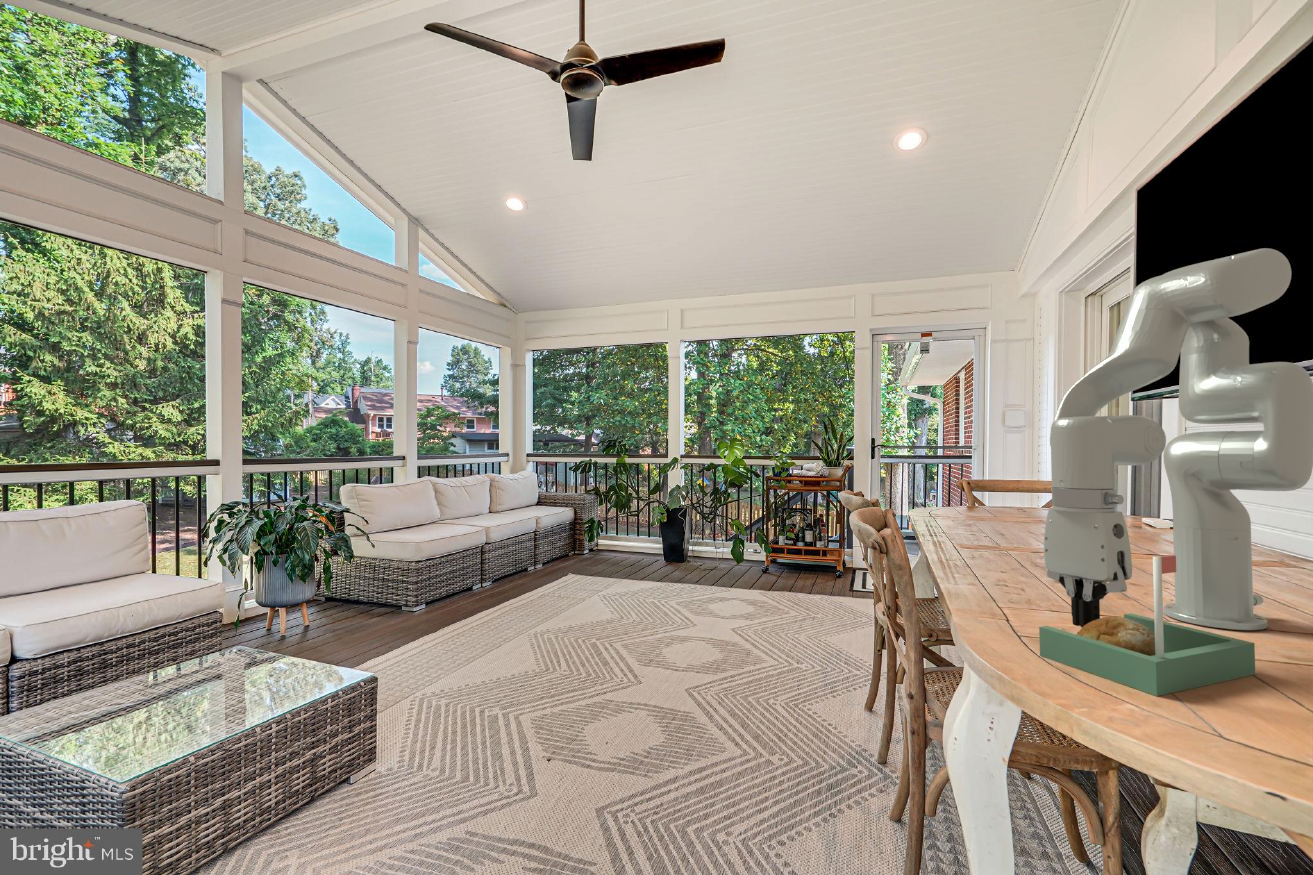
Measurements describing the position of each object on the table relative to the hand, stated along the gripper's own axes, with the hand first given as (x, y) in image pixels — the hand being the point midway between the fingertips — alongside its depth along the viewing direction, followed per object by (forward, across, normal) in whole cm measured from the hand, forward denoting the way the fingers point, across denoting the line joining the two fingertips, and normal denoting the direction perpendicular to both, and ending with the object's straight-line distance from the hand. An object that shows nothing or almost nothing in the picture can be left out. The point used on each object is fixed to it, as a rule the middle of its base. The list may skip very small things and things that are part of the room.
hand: (1085, 625), depth 85 cm
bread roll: (+4, -6, +2) cm, 7 cm away
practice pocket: (+3, -7, 0) cm, 7 cm away
